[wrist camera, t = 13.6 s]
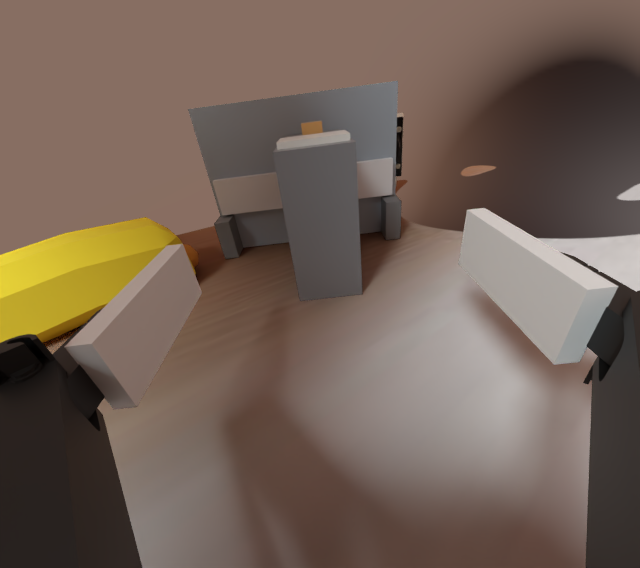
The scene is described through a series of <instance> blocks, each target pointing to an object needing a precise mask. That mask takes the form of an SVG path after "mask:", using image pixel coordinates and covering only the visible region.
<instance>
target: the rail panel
mask: <svg viewBox="0 0 640 568" xmlns="http://www.w3.org/2000/svg"><path fill="white" fill-rule="evenodd" d="M397 94H398V81H393V82H386V83H379V84H372V85H364V86H357V87H350V88H342V89H335V90H328V91H320V92H312V93H305V94H298V95H291V96H283V97H276V98H268V99H261V100H254V101H246V102H239V103H231V104H225V105H216V106H209V107H202V108H195V109H188V111H189V114H190V117H191V120H192V124H193V127H194V130H195V133H196V137H197V140H198V143H199V147H200V150H201V153H202V157H203V160H204V163H205V166H206V170H207V173H208V176H209V179H210V183H211V186H212V190H213V193H214V196H215V199H216V202H217V206H218V209H219V212H220V217H219V218H218V220H217V221H216V222H215V223H214V225H215V228H216V232H217V235H218V238H219V241H220V244H221V247H222V250H223V253H224V256H225V259H228V258H237V257H239V256H240V254H241V251H242V249H243V248H244V247H253V246H261V245H270V244H278V243H287V242H289V239H288V233H287V228H286V223H285V217H284V212H283V206H282V201H281V195H280V190H279V185H278V179H277V174H276V168H275V163H274V158H273V151H274V150H275V149H276V148H277V144H276V143H277V141H278V140H279V139H280V138H285V136H290V135H297V134H302V128H301V123H306V122H314V121H322V129H323V131H328V130H336V129H340V130H346V131H348V132H349V133H350V137H351V138H352V139H353V140H354V141H356V158H357V181H358V204H359V226H360V234H363V233H372V232H380V231H381V232H382V234H383V236H384V237H385V239H386V240H391V239H399V238H400V228H401V200H400V199H399V198H398V197H397V196H396V195H395V179H396V136H397Z"/></svg>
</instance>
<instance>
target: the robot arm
mask: <svg viewBox="0 0 640 568" xmlns="http://www.w3.org/2000/svg"><path fill="white" fill-rule="evenodd" d="M459 265H460V266H461V267H462V268H463V269H464V270H465V271H466V272H467V273H468V274H469V275H470V276H471V277H472V278H473V280H474V281H475V282H476V283H477V284H478V285H479V286H480V287H481V288H482V289H483V290H484V291H485V292H486V293H487V294H488V295H489V296H490V298H491V299H492V300H493V301H494V302H495V303H496V304H497V305H498V306H499V307H500V308H501V309H502V310H503V311H504V312H505V313H506V314H507V316H508V317H509V318H510V319H511V320H512V321H513V322H514V323H515V324H516V325H517V326H518V327H519V328H520V329H521V330H522V331H523V332H524V334H525V335H526V336H527V337H528V338H529V339H530V340H531V341H532V342H533V343H534V344H535V345H536V346H537V347H538V348H539V349H540V350H541V352H542V353H543V354H544V355H545V356H546V357H547V358H548V359H549V360H550V361H551V362H552V363H553V364H554V365H556V364H566V363H576V362H580V360H581V358H582V356H583V354H584V352H585V350H586V348H587V347H588V348H589V349H590V350H592V351H593V352H594V353H595V354H596V355H597V356H598V357H597V358H596V360H595V362H594V364H593V366H592V367H591V369H590V371H589V373H588V375H587V376H586V378H585V380H584V382H583V383H585V384H589V382H590V380H592V403H591V431H590V458H589V486H588V514H587V542H586V568H640V291H637V292H636V291H634V290H632V289H630V288H629V287H627V286H625V285H623V284H622V283H620V282H618V281H616V280H615V279H613V278H611V277H609V276H608V275H606V274H604V273H602V272H598V270H597V269H595V268H593V267H592V266H588V264H586V263H585V262H583V261H581V260H579V259H578V258H576V257H574V256H571V255H568V254H565V253H562V252H559V251H557V250H555V249H554V248H552V247H550V246H549V245H547V244H545V243H543V242H542V241H540V240H538V239H537V238H535V237H533V236H531V235H530V234H528V233H526V232H525V231H523V230H521V229H519V228H518V227H516V226H514V225H512V224H511V223H509V222H507V221H506V220H504V219H502V218H501V217H499V216H497V215H496V214H494V213H492V212H490V211H489V210H487V209H485V208H480V209H472V210H467V214H466V220H465V227H464V232H463V239H462V245H461V251H460V257H459ZM201 294H202V291H201V289H200V286H199V284H198V281H197V279H196V276H195V274H194V271H193V268H192V266H191V263H190V261H189V258H188V256H187V253H186V251H185V248H184V246H183V244H177V245H168V246H166V247H165V248H164V249H163V250H162V251H161V252H160V253H159V254H158V255H157V256H156V257H155V258H154V259H153V260H152V261H151V262H150V263H149V264H148V265H147V266H146V267H145V268H144V269H143V270H142V271H141V272H140V273H138V274H137V275H136V276H135V277H134V278H133V279H132V280H131V281H130V282H129V283H128V284H127V285H126V286H125V287H124V288H123V289H122V290H121V291H120V292H119V293H118V294H117V295H116V296H115V297H114V298H113V299H112V300H111V301H110V302H109V303H108V304H107V305H106V306H105V307H103V308H102V309H100V310H98V311H97V312H96V313H95V314H94V315H93V316H92V317H91V318H90V319H89V320H88V321H87V323H84V324H83V325H82V326H81V327H80V328H79V331H76V332H75V333H74V334H73V335H72V336H71V337H70V338H69V339H68V340H67V341H66V342H65V343H64V344H63V345H62V346H61V347H60V348H59V349H58V350H57V351H56V352H55V353H54V354H53V355H52V354H51V353H50V351H49V350H48V349H47V348H46V347H45V345H44V344H43V343H42V342H41V341H40V339H39V338H38V337H37V336H36V335H34V334H26V335H20V336H17V337H14V338H11V339H8V340H6V341H3V342H1V343H0V568H142V565H141V561H140V557H139V553H138V549H137V546H136V542H135V538H134V534H133V530H132V526H131V522H130V518H129V515H128V511H127V507H126V503H125V499H124V495H123V491H122V487H121V484H120V480H119V476H118V472H117V468H116V464H115V460H114V456H113V453H112V449H111V445H110V441H109V437H108V433H107V429H106V426H105V422H104V418H103V415H102V413H101V412H100V411H99V410H98V409H97V407H98V406H99V404H100V403H101V401H102V400H103V399H104V398H105V399H106V400H107V401H108V403H109V404H110V405H111V407H112V408H113V409H122V408H132V407H137V406H138V404H139V402H140V401H141V399H142V397H143V395H144V394H145V392H146V390H147V388H148V387H149V385H150V383H151V381H152V380H153V378H154V376H155V374H156V373H157V371H158V369H159V367H160V366H161V364H162V362H163V360H164V359H165V357H166V355H167V353H168V352H169V350H170V348H171V346H172V345H173V343H174V341H175V339H176V338H177V336H178V334H179V332H180V331H181V329H182V327H183V325H184V324H185V322H186V320H187V318H188V317H189V315H190V313H191V311H192V310H193V308H194V306H195V304H196V303H197V301H198V299H199V297H200V296H201Z"/></svg>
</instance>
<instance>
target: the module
mask: <svg viewBox="0 0 640 568" xmlns="http://www.w3.org/2000/svg"><path fill="white" fill-rule="evenodd" d="M301 128H302V134H297V135H290V136H285V138H280V139H279V140H278V141H277V143H276V144H277V148H276V149H275V150H274V151H273V158H274V163H275V168H276V174H277V179H278V185H279V190H280V195H281V201H282V206H283V212H284V217H285V223H286V228H287V233H288V239H289V244H290V250H291V255H292V261H293V266H294V271H295V277H296V282H297V288H298V293H299V298H300V301H306V300H315V299H324V298H333V297H342V296H351V295H360V294H362V272H361V249H360V226H359V204H358V181H357V158H356V141H354V140H353V139H352V138H351V137H350V133H349V132H348V131H346V130H340V129H336V130H328V131H323V129H322V121H314V122H306V123H301Z"/></svg>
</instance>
